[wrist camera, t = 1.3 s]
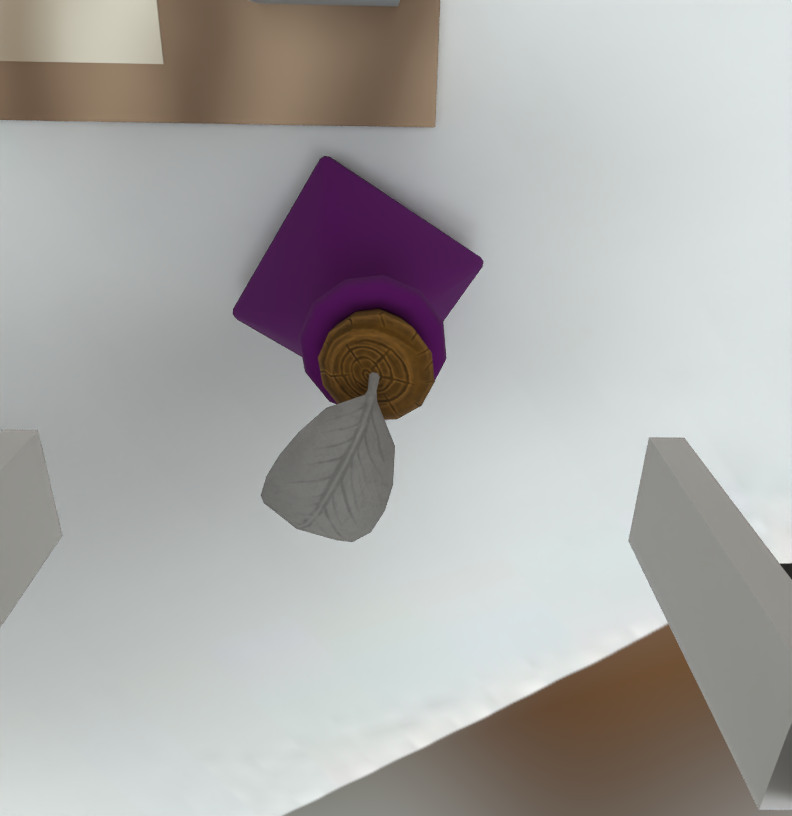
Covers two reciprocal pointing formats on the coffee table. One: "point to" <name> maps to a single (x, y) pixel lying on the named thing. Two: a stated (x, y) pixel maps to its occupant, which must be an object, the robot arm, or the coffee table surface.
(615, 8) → the coffee table surface
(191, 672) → the coffee table surface
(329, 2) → the tea tin
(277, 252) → the perfume bottle
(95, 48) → the display board
